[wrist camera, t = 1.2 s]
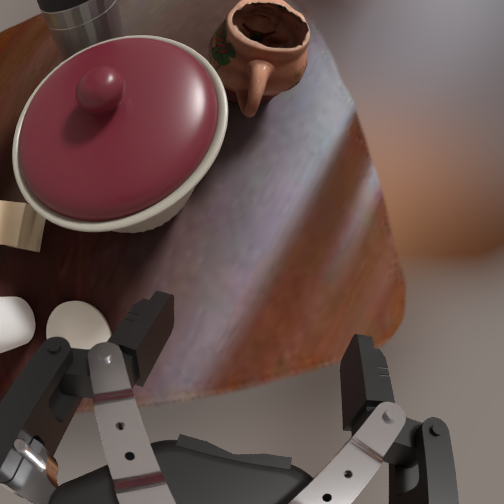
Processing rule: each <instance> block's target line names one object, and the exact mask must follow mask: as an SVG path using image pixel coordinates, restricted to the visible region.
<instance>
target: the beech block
mask: <svg viewBox="0 0 504 504" xmlns="http://www.w3.org/2000/svg"><path fill="white" fill-rule="evenodd" d="M45 220H46V219H45V218H44V217H42V216H41V215H40V214H39V213H37V212H36V211H35V210H34V209H33V208H32V207H31V206H30V205H28V204H26V203H20V202H11V201H2V200H0V244H2V245H6V246H10V247H15V248H20V249H25V250H30V251H35V252H40V247H41V241H42V235H43V230H44V225H45Z"/></svg>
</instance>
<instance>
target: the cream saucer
mask: <svg viewBox="0 0 504 504" xmlns="http://www.w3.org/2000/svg"><path fill="white" fill-rule="evenodd" d="M111 335H112V334H111V330H110V327H109V324H108V322H107V320H106V319H105V317H104V316H103V314H102V313H101V312H100V311H99V310H98V309H97V308H95V307H94V306H92V305H91V304H89V303H86V302H83V301H68V302H64V303H62V304H60V305H59V306H57V307H56V308H55V309H54V310H53V312H52V313H51V315H50V316H49V319H48V322H47V327H46V336H47V339H49V338H51V337H63V338H65V339H66V340H67V341H68V342H69V343H70V346H71V348H79V349H91V348H92V347H93V346H94V345H96V344H98V343H102V342H107V341H108V339H109V338H110V337H111Z"/></svg>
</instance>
